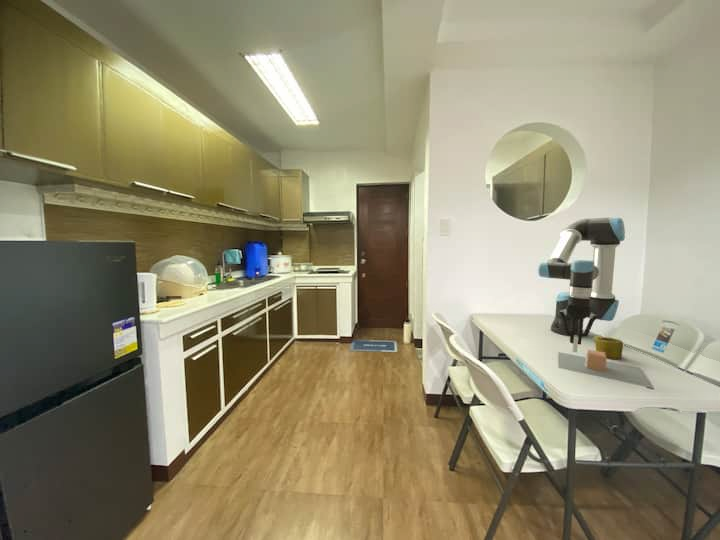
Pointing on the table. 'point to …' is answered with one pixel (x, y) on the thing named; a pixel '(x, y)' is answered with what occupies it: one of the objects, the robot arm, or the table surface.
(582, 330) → the robot arm
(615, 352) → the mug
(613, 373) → the mat
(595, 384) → the table surface
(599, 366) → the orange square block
